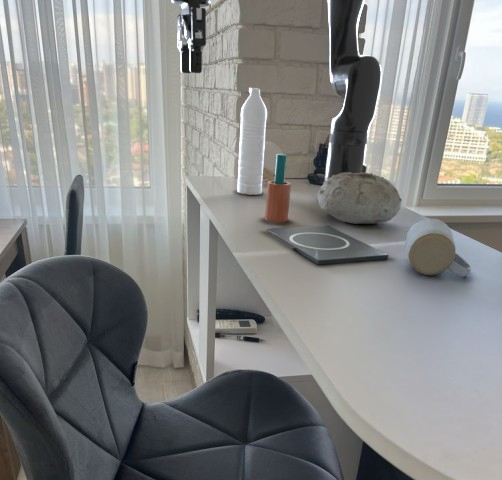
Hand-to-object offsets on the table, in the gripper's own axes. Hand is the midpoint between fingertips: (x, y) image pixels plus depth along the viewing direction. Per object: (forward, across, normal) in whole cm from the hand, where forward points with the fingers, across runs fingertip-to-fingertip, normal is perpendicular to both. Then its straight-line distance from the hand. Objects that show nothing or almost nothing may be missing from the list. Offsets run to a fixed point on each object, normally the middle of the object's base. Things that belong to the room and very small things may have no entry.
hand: (190, 73), depth 100 cm
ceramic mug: (+28, -46, -31) cm, 61 cm away
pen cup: (+27, -12, -16) cm, 34 cm away
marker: (+27, -12, -16) cm, 33 cm away
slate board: (+27, -30, -18) cm, 44 cm away
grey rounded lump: (+28, -13, -34) cm, 46 cm away
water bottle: (+27, +20, -20) cm, 39 cm away
